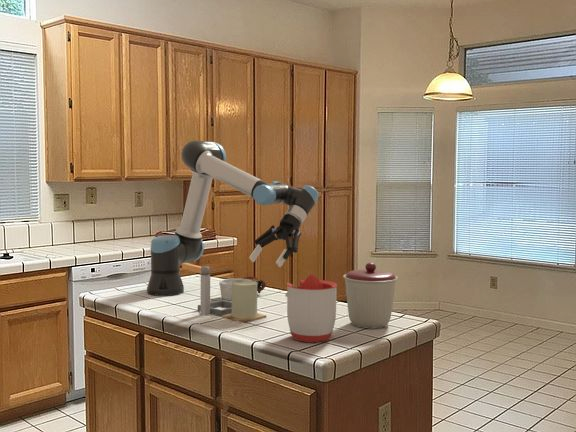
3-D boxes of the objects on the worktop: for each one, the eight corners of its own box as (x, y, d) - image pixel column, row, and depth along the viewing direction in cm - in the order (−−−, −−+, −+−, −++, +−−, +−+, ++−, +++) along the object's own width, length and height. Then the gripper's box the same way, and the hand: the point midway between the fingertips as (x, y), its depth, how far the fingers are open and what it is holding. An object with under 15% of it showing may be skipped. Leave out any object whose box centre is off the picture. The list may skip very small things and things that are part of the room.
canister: (331, 325, 206) (332, 262, 204) (361, 315, 219) (362, 257, 218) (378, 335, 194) (379, 269, 192) (406, 324, 208) (408, 262, 206)
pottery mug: (235, 297, 252) (234, 278, 255) (245, 302, 260) (244, 284, 263) (262, 291, 248) (261, 272, 252) (271, 297, 256) (270, 279, 260)
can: (245, 310, 221) (246, 277, 220) (263, 315, 215) (263, 281, 214) (225, 315, 215) (225, 281, 214) (242, 319, 208) (242, 284, 207)
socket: (191, 311, 222) (191, 273, 221) (222, 305, 234) (222, 268, 233) (214, 317, 214) (214, 277, 213) (246, 310, 226) (246, 272, 225)
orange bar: (203, 274, 216) (204, 267, 216) (180, 268, 229) (180, 262, 228) (211, 274, 218) (211, 267, 218) (187, 267, 230) (187, 261, 230)
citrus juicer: (303, 327, 202) (304, 267, 200) (346, 337, 191) (347, 273, 189) (271, 337, 190) (271, 273, 189) (315, 348, 179) (316, 280, 177)
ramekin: (237, 303, 237) (238, 285, 237) (212, 299, 245) (212, 281, 244) (258, 297, 248) (259, 280, 248) (233, 293, 256) (233, 277, 255)
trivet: (221, 317, 214) (221, 315, 214) (244, 312, 222) (244, 310, 222) (244, 323, 207) (244, 320, 207) (266, 317, 215) (266, 315, 215)
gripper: (322, 229, 229) (294, 273, 219) (273, 223, 246) (245, 264, 236) (314, 216, 225) (285, 260, 215) (264, 210, 241) (235, 251, 231)
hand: (264, 262), depth 225 cm, fingers open, 13 cm apart
